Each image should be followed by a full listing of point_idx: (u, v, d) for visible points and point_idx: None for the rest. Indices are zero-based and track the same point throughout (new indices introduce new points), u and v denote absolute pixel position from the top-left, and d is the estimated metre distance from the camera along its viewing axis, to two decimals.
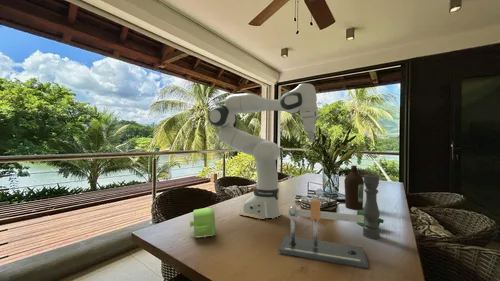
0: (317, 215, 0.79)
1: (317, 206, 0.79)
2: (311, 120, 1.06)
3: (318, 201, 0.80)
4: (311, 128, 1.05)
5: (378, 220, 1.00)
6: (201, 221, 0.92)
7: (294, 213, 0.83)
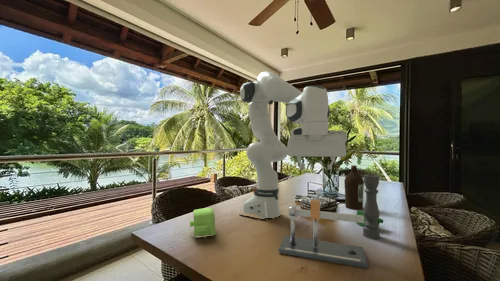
0: (317, 215, 0.79)
1: (317, 206, 0.79)
2: (288, 141, 0.83)
3: (318, 201, 0.80)
4: (287, 151, 0.84)
5: (378, 220, 1.00)
6: (201, 221, 0.92)
7: (294, 213, 0.83)
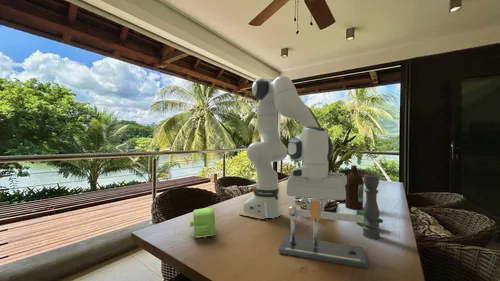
0: (317, 215, 0.79)
1: (317, 206, 0.79)
2: None
3: (318, 201, 0.80)
4: None
5: (377, 220, 1.00)
6: (201, 221, 0.92)
7: (294, 213, 0.83)
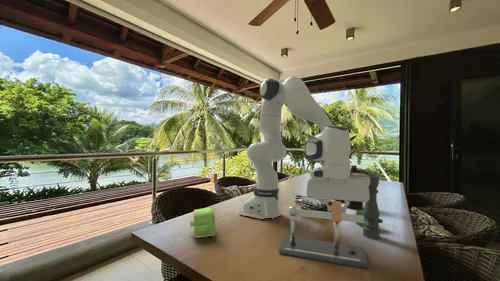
0: (339, 217, 0.77)
1: (339, 208, 0.77)
2: None
3: (340, 203, 0.78)
4: (306, 192, 0.81)
5: (377, 220, 1.00)
6: (201, 221, 0.92)
7: (294, 213, 0.83)
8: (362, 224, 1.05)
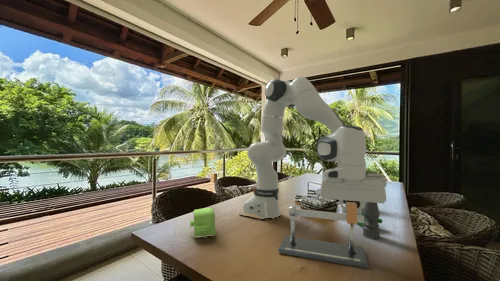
0: (354, 219, 0.75)
1: (354, 210, 0.75)
2: None
3: (355, 204, 0.76)
4: None
5: (377, 220, 1.00)
6: (201, 221, 0.92)
7: (294, 213, 0.83)
8: (362, 224, 1.05)
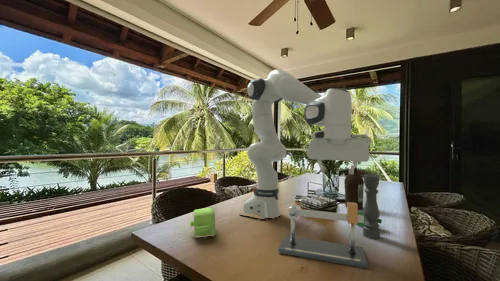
0: (355, 219, 0.75)
1: (355, 210, 0.75)
2: (309, 144, 0.82)
3: (356, 204, 0.76)
4: (307, 154, 0.83)
5: None
6: (201, 221, 0.92)
7: (294, 213, 0.83)
8: (361, 224, 1.05)
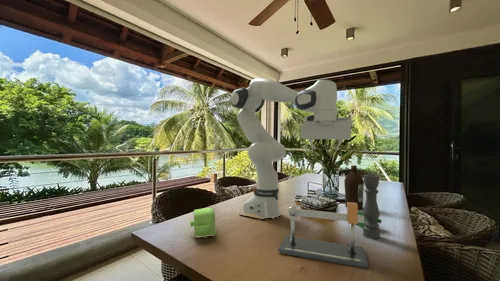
0: (355, 219, 0.75)
1: (355, 210, 0.75)
2: (302, 126, 0.99)
3: (356, 204, 0.76)
4: (301, 135, 1.00)
5: None
6: (201, 221, 0.92)
7: (294, 213, 0.83)
8: (361, 224, 1.05)
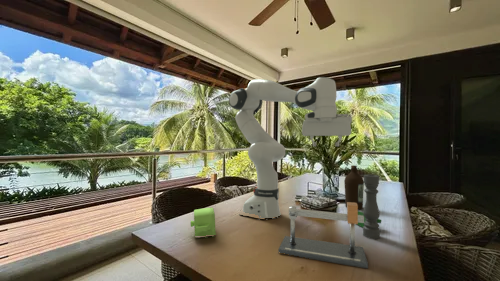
0: (355, 219, 0.75)
1: (355, 210, 0.75)
2: (303, 123, 1.01)
3: (356, 204, 0.76)
4: (302, 132, 1.02)
5: None
6: (201, 221, 0.92)
7: (294, 213, 0.83)
8: (361, 224, 1.05)
